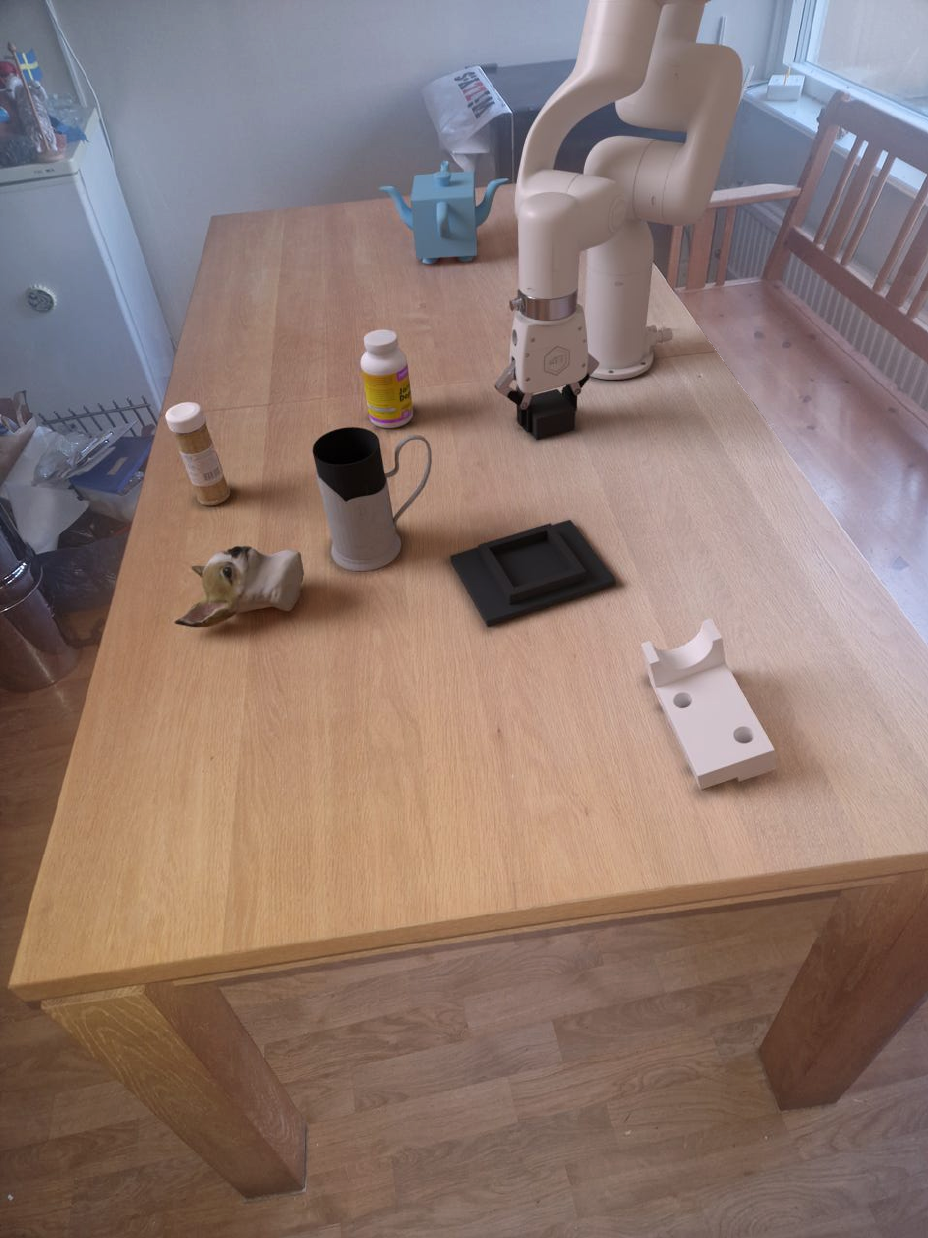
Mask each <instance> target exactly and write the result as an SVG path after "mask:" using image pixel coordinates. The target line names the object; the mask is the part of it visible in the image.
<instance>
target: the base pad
mask: <svg viewBox="0 0 928 1238" xmlns="http://www.w3.org/2000/svg"><path fill="white" fill-rule="evenodd" d="M449 557H450V563H451V565H452V567H453V568H454V570H455V572H456V575H458V577H459V579H460V581H461V583H462V584H463V587H464V588H465V590H466V592H467V594H468V595H469V597H470V599H471V600H472V602H473V604H474V606H475V607H476V609H477V612H479V615H480V617H481V618H482V620H483V623H484V624H485V625H486V627H487V628H488V627H492V626H494V625H498V624H501V623H504V622H507V621H510V620H513V619H516V618H520V617H523V616H525V615H529V614H532V613H534V612H538V611H542V610H544V609H548V608H551V607H554V606H557V605H560V604H564V603H567V602H569V601H573V600H575V599H578V598H582V597H584V596H587V595H588V596H589V595H591V594H594V593H597V592H601V591H603V590H607V589H609V588H613V587H616V586H617V585H616V584H617V579H616V577H615V576H614V575H613V574H612V573H611V571H610V570H609V569H608V567H607V566H606V564H605V563H604V562H603V561H602V559H601V558H600V556H599V555H598V554H597V552H596V551H595V550H594V549H593V548H592V546H591V544H589V542H588V541H587V540H586V538H585V537H584V536H583V535H582V533H581V532H580V530H579V529H578V528H577V526H576V525H575V524H574V522H573V521H572V520H571V519H568V520H564V521H560V522H558V523H555V524H552V523H551V522H550V523H545V524H544V525H540V526H536V527H533V528H530V529H527V530H523V531H520V532H519V531H518V532H516V533H512V534H510V535H505V536H503V537H500V538H496V539H493V540H490V541H486V542H482V543H479V544H478V545H477V547H474V548H471V549H467V550H464V551H461V552H457V553H454V554H451V555H450V556H449Z"/></svg>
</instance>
